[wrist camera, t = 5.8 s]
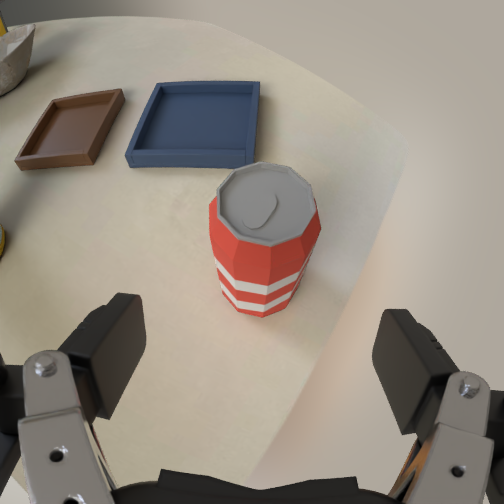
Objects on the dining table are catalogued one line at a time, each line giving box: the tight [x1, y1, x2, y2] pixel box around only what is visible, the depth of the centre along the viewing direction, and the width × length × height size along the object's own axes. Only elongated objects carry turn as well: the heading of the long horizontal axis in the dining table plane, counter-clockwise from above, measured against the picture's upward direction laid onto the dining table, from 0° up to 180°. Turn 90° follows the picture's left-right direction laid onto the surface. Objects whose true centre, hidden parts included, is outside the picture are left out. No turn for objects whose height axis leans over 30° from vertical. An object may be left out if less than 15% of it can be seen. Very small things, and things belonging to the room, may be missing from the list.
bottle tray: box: [15, 89, 125, 171], centre depth 35 cm, size 12×12×2 cm
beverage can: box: [209, 161, 321, 317], centre depth 22 cm, size 6×6×12 cm
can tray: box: [125, 81, 260, 169], centre depth 35 cm, size 14×14×2 cm
